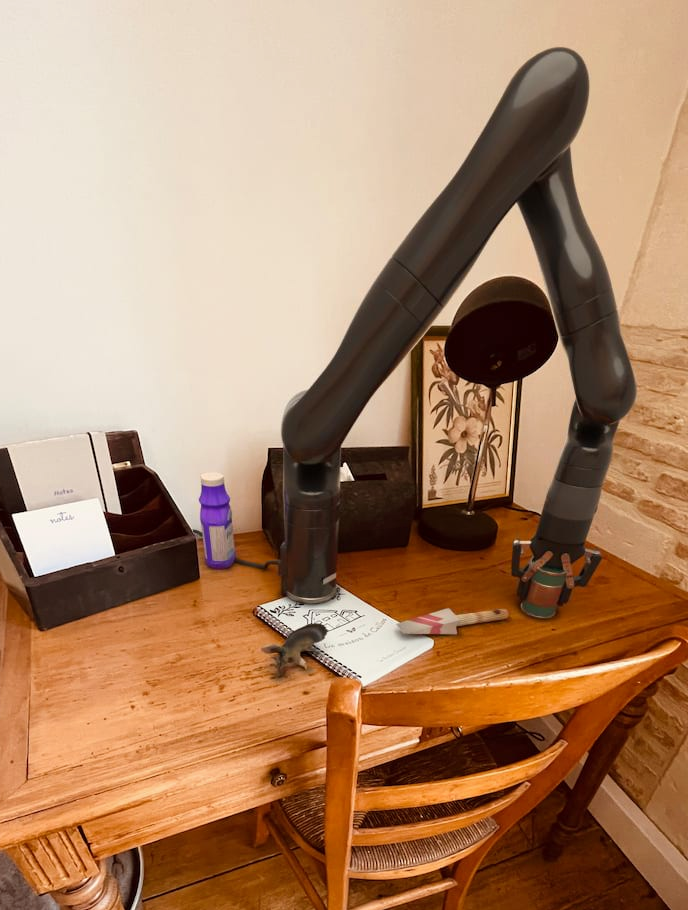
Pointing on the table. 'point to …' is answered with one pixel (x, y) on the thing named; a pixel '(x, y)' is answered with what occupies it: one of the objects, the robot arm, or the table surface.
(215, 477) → the bottle
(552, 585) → the tin can
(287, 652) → the bushy tailed squirrel toy
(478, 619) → the paintbrush
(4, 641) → the table surface
